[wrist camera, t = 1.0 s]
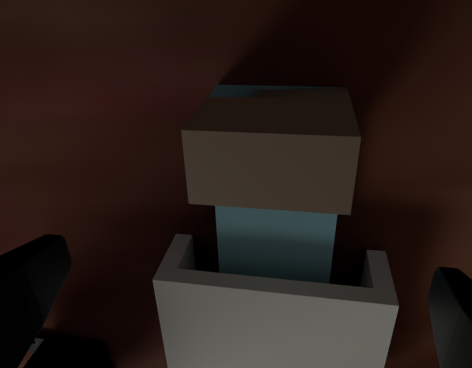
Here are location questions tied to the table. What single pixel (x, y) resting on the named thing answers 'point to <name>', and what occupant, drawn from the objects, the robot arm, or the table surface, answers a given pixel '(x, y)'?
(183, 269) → the sleeve box
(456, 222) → the table surface
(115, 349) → the table surface
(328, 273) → the cover plate
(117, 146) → the table surface
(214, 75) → the table surface
